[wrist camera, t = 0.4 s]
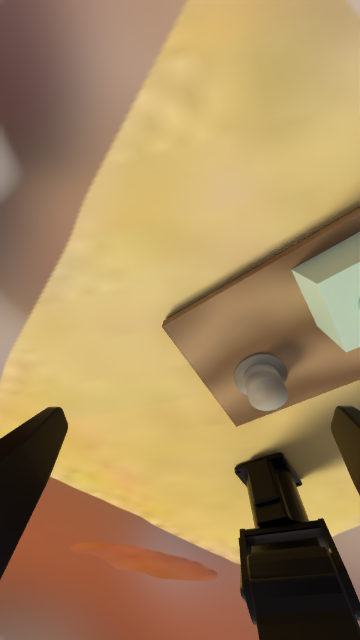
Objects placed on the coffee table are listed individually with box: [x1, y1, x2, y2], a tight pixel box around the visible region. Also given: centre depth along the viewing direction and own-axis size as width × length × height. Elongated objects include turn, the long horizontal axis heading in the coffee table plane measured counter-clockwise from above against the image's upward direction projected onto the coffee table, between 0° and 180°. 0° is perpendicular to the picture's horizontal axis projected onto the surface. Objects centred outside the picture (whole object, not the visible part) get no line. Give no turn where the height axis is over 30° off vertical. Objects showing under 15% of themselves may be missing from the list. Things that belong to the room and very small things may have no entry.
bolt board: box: [162, 207, 360, 427], centre depth 19 cm, size 14×18×4 cm
